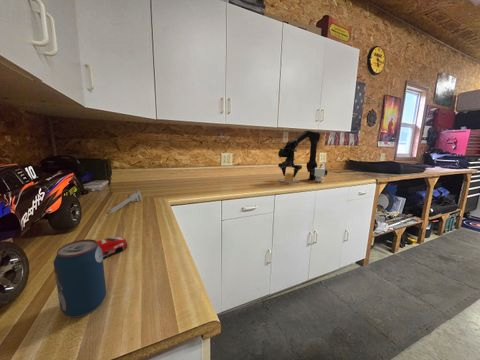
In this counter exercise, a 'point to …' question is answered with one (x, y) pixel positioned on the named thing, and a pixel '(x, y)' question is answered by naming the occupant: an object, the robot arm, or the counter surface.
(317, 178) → the pneumatic valve
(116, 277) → the counter surface
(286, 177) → the wire nut cap
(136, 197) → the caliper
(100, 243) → the race car
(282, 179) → the junction plate
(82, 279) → the soda can
